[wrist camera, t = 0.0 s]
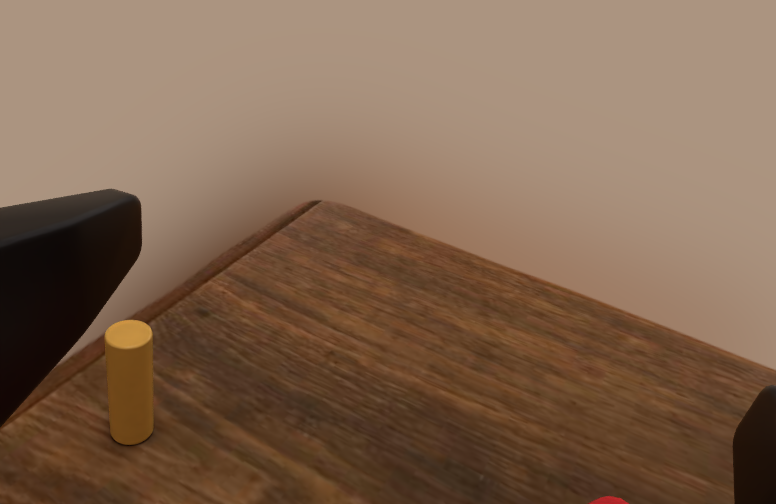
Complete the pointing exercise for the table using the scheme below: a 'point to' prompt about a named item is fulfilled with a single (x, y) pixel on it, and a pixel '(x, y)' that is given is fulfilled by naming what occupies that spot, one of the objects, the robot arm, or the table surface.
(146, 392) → the cylinder
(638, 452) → the table surface
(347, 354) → the table surface
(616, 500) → the alarm clock
